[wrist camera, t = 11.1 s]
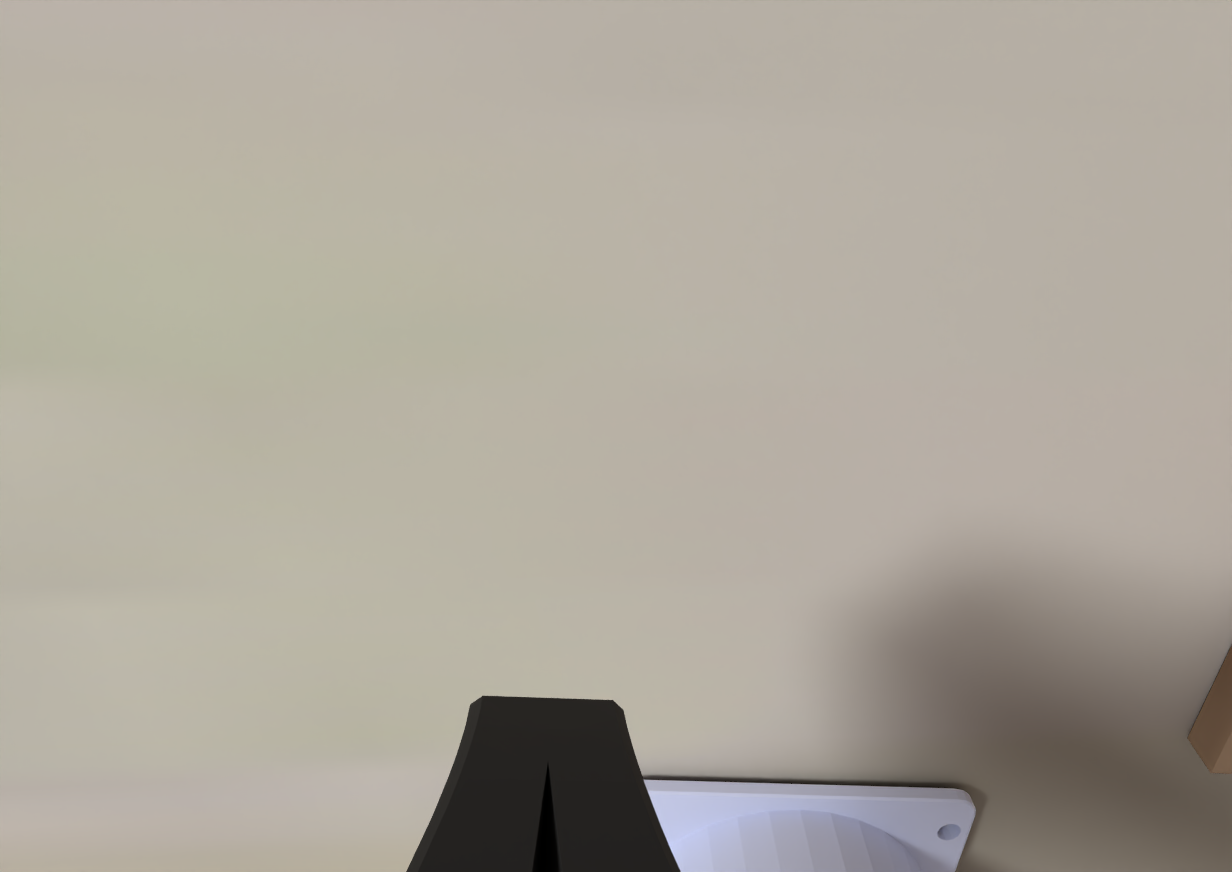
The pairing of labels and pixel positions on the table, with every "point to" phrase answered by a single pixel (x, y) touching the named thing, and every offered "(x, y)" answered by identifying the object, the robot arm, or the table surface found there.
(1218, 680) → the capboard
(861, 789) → the robot arm
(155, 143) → the table surface
